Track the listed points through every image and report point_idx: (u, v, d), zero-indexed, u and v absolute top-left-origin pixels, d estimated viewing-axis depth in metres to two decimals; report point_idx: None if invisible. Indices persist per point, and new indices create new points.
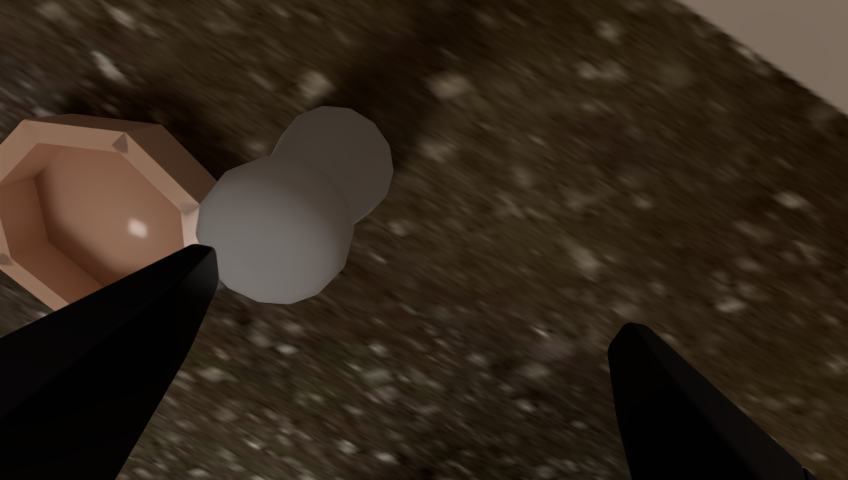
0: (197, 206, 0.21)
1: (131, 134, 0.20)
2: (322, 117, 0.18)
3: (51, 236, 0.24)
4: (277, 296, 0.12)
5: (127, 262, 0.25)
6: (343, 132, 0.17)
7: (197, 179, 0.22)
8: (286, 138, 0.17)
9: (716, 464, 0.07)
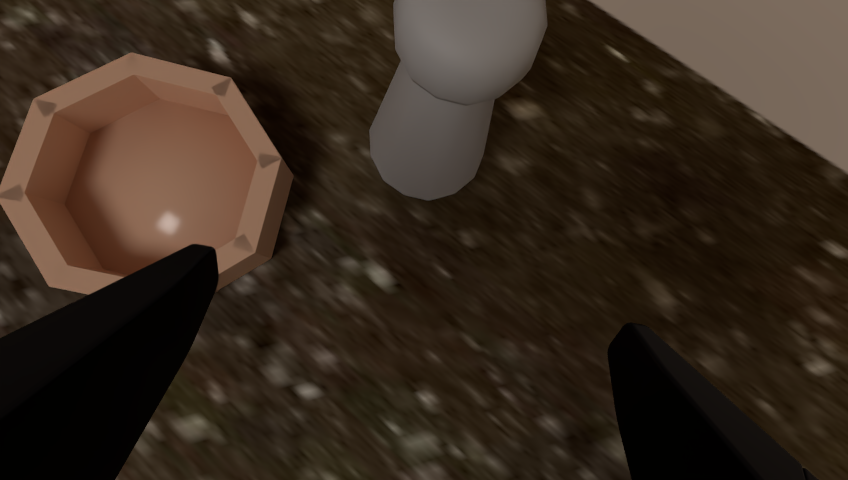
0: (277, 158, 0.20)
1: (234, 83, 0.20)
2: None
3: (72, 199, 0.20)
4: (475, 56, 0.11)
5: (150, 241, 0.21)
6: None
7: (275, 148, 0.21)
8: None
9: (716, 464, 0.07)
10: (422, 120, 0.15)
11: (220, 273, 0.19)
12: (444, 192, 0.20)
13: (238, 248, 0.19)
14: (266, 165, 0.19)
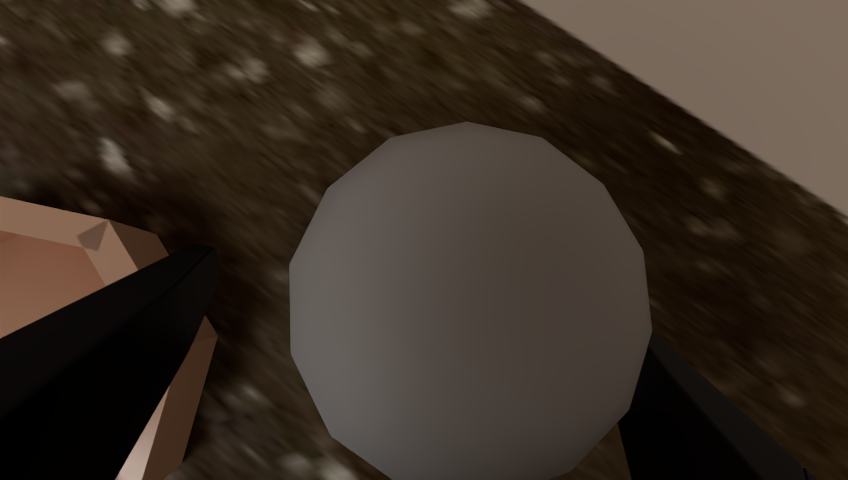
0: None
1: (115, 225, 0.13)
2: None
3: None
4: (483, 465, 0.04)
5: None
6: None
7: None
8: None
9: (716, 464, 0.07)
10: None
11: None
12: None
13: None
14: None
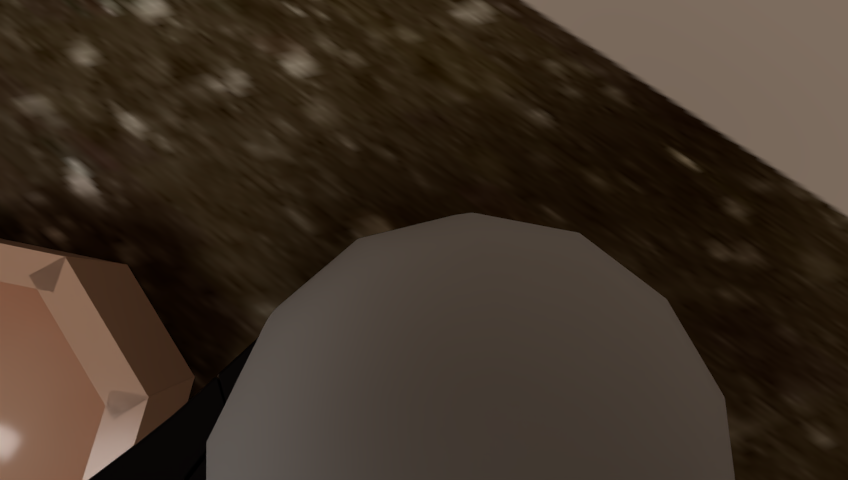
0: (141, 398, 0.11)
1: (74, 262, 0.12)
2: None
3: None
4: None
5: None
6: None
7: (156, 352, 0.13)
8: None
9: None
10: None
11: None
12: None
13: None
14: (121, 413, 0.11)
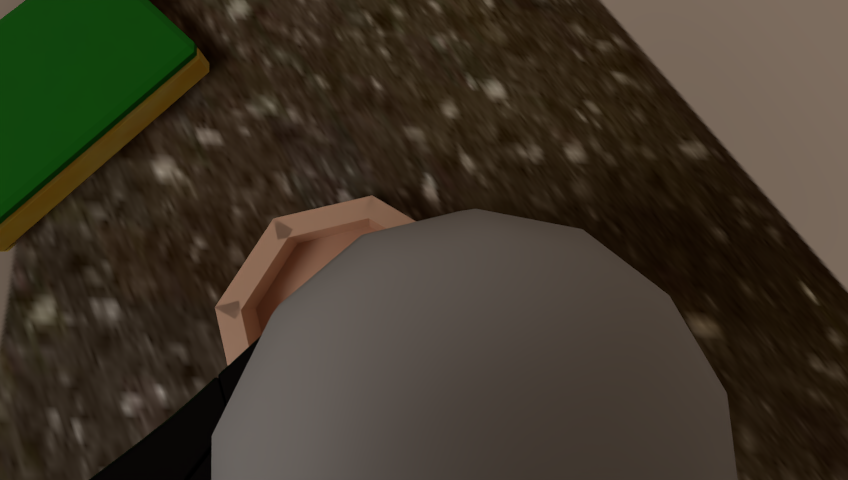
0: None
1: None
2: None
3: (264, 305, 0.21)
4: None
5: None
6: None
7: None
8: None
9: None
10: None
11: None
12: None
13: None
14: None
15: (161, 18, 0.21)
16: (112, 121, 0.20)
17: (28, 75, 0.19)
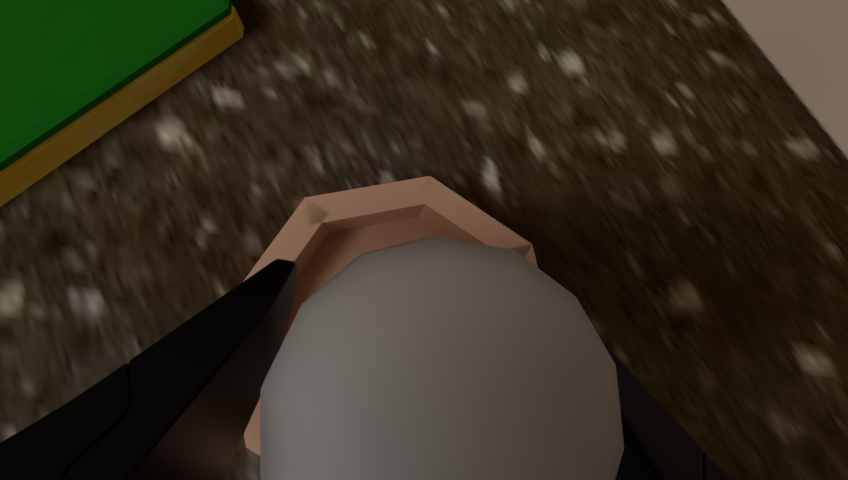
0: None
1: None
2: None
3: None
4: None
5: None
6: None
7: None
8: None
9: None
10: None
11: None
12: None
13: None
14: None
15: None
16: (118, 83, 0.16)
17: (20, 16, 0.16)
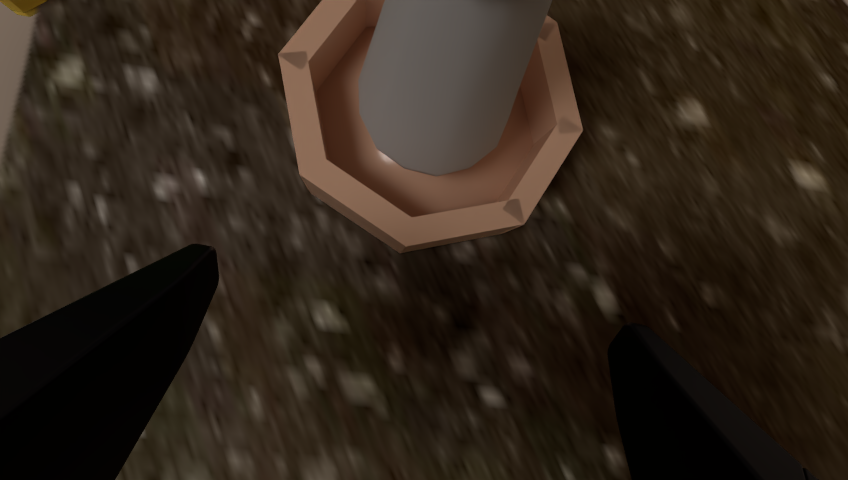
0: (579, 129, 0.17)
1: None
2: None
3: (325, 88, 0.18)
4: None
5: (389, 165, 0.18)
6: None
7: None
8: None
9: (716, 464, 0.07)
10: (436, 42, 0.10)
11: (479, 232, 0.16)
12: (458, 164, 0.15)
13: (508, 212, 0.16)
14: (565, 132, 0.16)
15: None
16: None
17: None
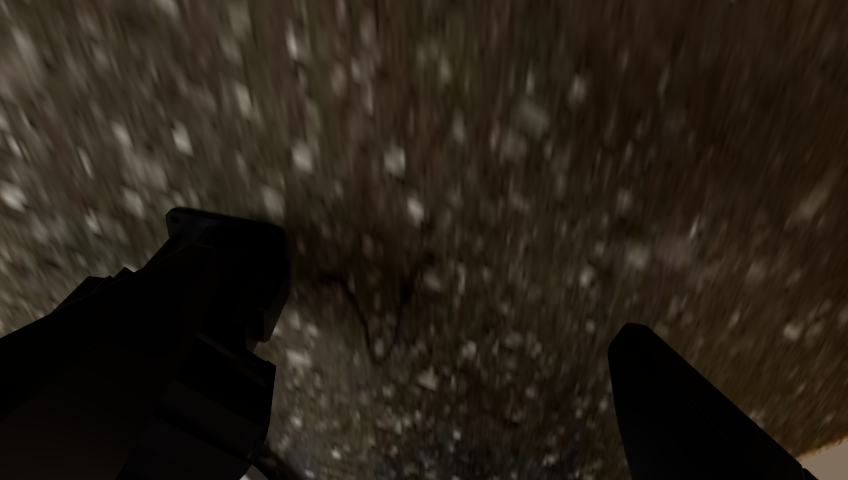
0: None
1: None
2: None
3: None
4: None
5: None
6: None
7: None
8: None
9: (716, 464, 0.07)
10: None
11: None
12: None
13: None
14: None
15: None
16: None
17: None
